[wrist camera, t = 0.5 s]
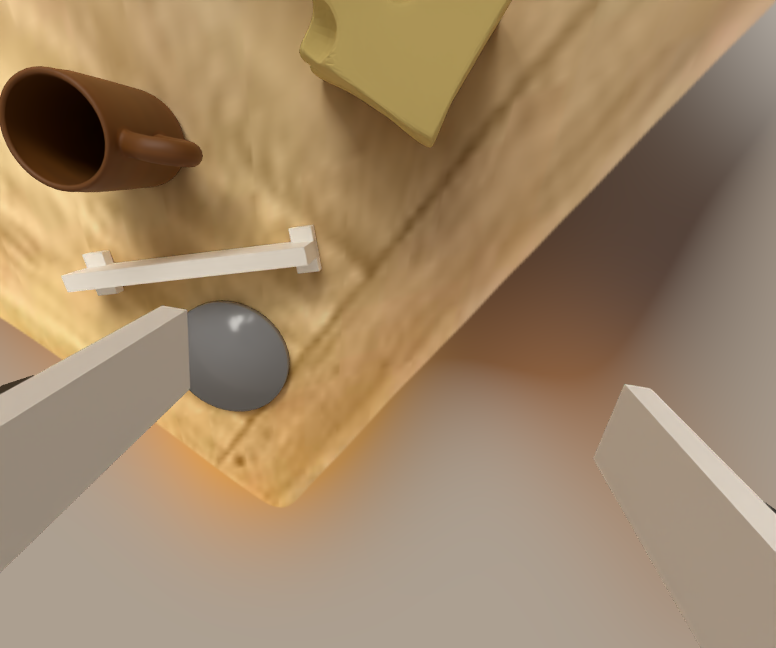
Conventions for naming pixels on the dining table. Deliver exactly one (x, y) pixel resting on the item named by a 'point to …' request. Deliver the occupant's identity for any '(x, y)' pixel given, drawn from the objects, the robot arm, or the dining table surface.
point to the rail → (195, 264)
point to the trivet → (235, 356)
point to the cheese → (401, 53)
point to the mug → (91, 132)
